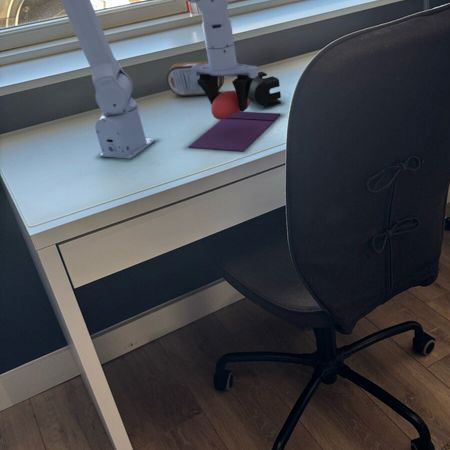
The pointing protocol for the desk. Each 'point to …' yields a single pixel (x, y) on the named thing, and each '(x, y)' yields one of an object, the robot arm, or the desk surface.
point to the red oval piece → (225, 105)
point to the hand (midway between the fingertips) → (230, 109)
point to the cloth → (236, 131)
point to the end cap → (264, 91)
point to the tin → (186, 79)
